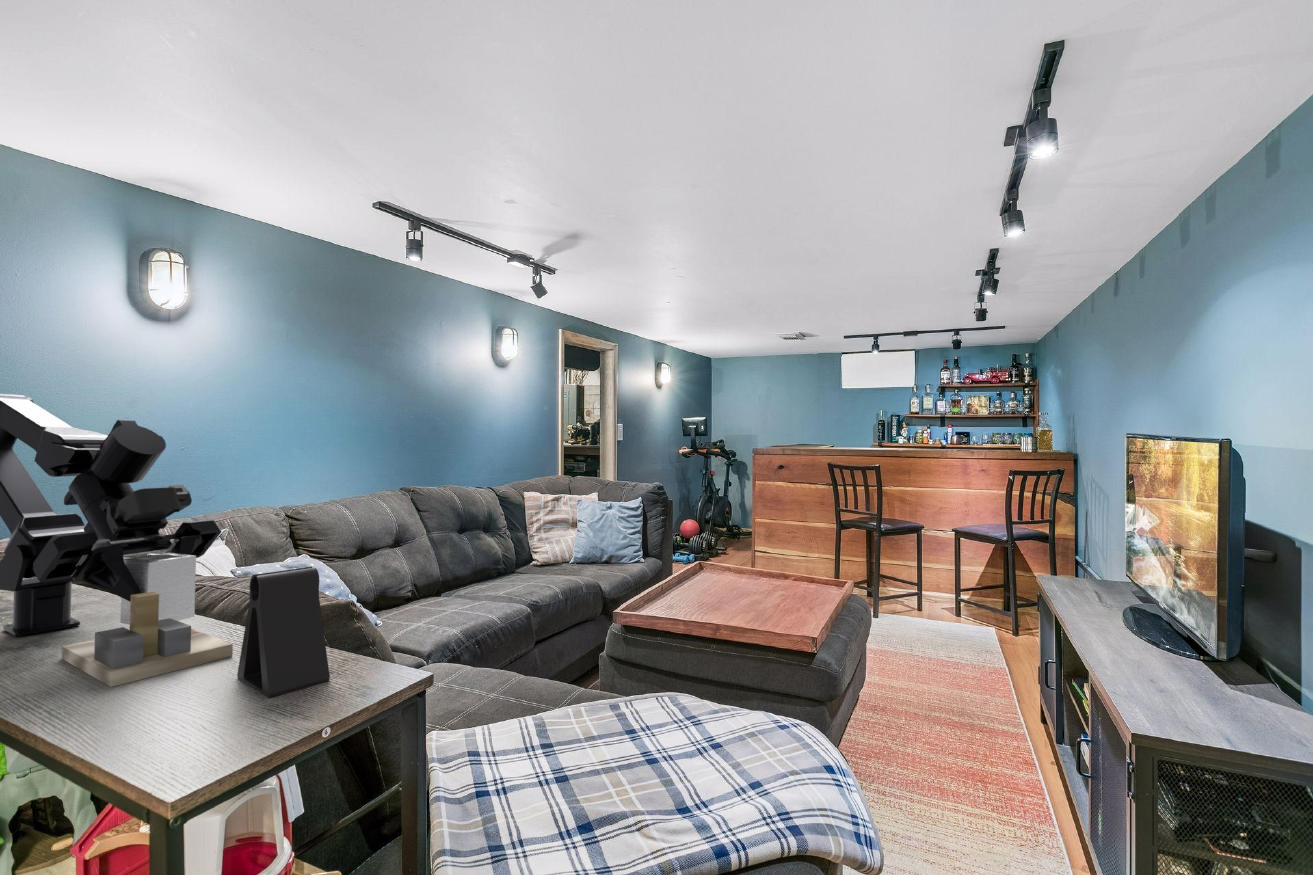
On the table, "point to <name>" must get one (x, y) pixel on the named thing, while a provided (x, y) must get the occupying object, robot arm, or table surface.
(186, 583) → the steel sleeve
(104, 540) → the robot arm
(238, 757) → the table surface
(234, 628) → the table surface
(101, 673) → the board
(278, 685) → the phone stand
